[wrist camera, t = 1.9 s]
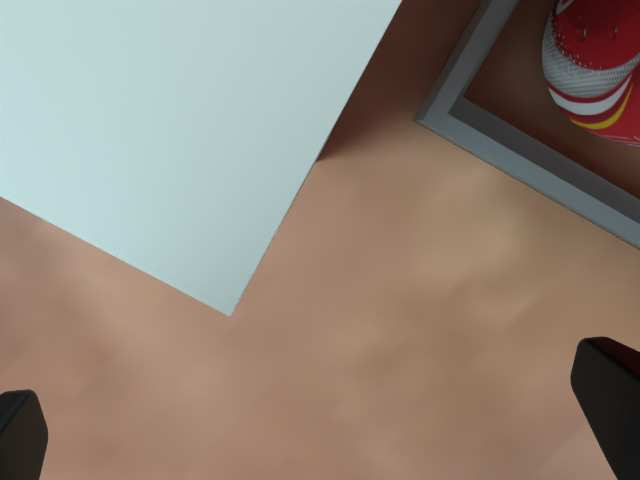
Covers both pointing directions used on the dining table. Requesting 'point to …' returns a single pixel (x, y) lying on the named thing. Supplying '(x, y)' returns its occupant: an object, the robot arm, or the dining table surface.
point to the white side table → (175, 122)
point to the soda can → (596, 65)
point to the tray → (518, 135)
